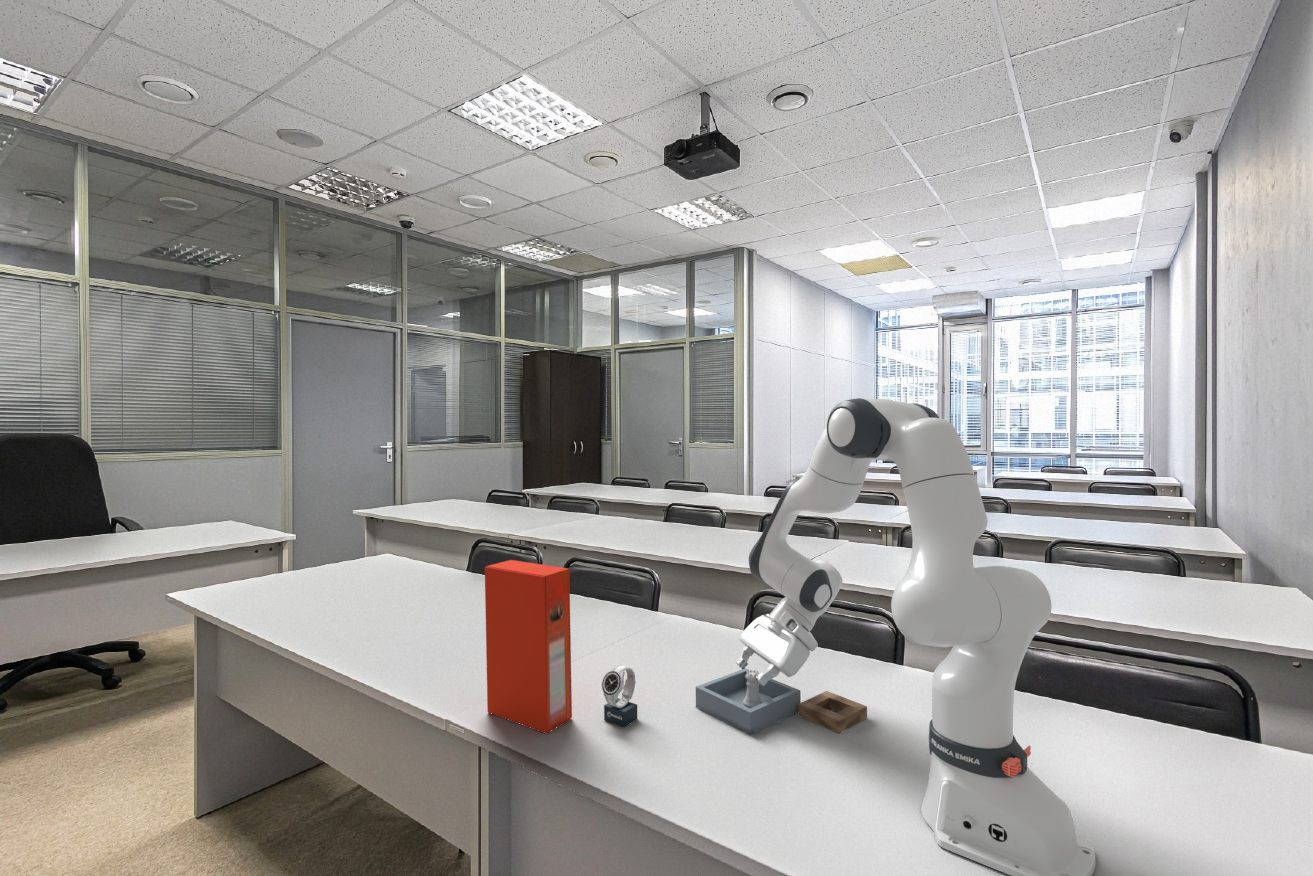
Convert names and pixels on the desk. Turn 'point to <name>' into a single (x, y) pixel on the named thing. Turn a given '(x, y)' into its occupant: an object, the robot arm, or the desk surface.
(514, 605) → the file binder
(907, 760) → the desk surface
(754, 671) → the rook chess piece
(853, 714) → the socket block
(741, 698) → the tray
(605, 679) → the watch
